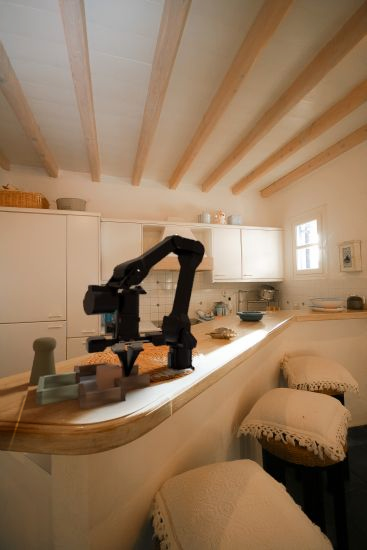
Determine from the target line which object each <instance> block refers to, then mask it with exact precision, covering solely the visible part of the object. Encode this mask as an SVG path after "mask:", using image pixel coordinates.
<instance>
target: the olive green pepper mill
mask: <svg viewBox="0 0 367 550" xmlns="http://www.w3.org/2000/svg"><path fill="white" fill-rule="evenodd" d="M56 347H57V341H56V339H55V338H54V337H51V336H49V337H48V336H46V337H45V336H44V337H39V338H36V339H34V341H33V342H32V350H33V351H34V356H33V360H32V366H31V372H30V376H29V382H28V386H29V387H31V385H36V386H38V383H39V378H40V376H47V375H55V374H57V371H56V363H55V361H56V360H55V353H54V351H55V349H56Z"/></svg>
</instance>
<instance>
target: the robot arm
mask: <svg viewBox="0 0 367 550" xmlns="http://www.w3.org/2000/svg"><path fill="white" fill-rule="evenodd" d="M205 252H206V249H205V245H204V244H203V243H202V241H200V240H195V239H192V238H187V237H184V236H181V235H180V234H172V235H168V236H165V237H164V238H163V239H162V240H161V241H159V242H158V243H157V244H155V245H153V246H152V247H150V248H149V249H148V250H146V251H145V252H144V253H142V254H141V255H139V256H138V257H135V258H132V259H129V260H127V261H124V262H122V263H120V264H117V265H116V266H115V267H114V268H113V270H112V271H113V272H112V275H111V277H110V278H109V280H108V281H107V282H106V283H105V285H99V284H88V285H87V290H86V292H85V295H84V296H83V297H84V298H83V299H82V306H83V307H82V308H83V312H84V314H85V315H86V316H98V315H99V316H102V315H113V314H114V313H115V318H114V322H113V321H111V320H110V321H104V334H105V335H106V336H107V335H111V338H106V337H105V336H104V335H96V336H95V335H94V336H88V337H87V338H86V339H85V350H86V352H87V354H88V353H89V354H95V353H103V352H104V351H105V350H106V349H107V348H109V349H110V351H111V352H112V353H113V354H114V355H116V356H117V357H118V360H119V363H120V366H122V369H123V372H124V376H125V377H128V376H129V375H130V373H131V370H132V368H133V366H134V364H136V361H137V359H138V357H139V356H140V354H141V352H144V351H145V348H144V347H143V345H144V344H151V345H153V347H163V346H166V347H168V352H167V364H166V366H167V367H168V368H169V369H172V370H173V371H183V370H188V369H189V370H194V369H195V368H196V367H195V366H194V365H193V350H194V349H196V348H197V345H198V340H197V339H196V337H195V336H194V335H193V333H192V332H191V331H192V330H191V329H192V324H191V319H190V317H189V310H190V303H191V298H192V293H193V289H194V288H193V287H194V282H195V277H196V271H197V269H198V267H199V266H200V265H201V264H202V262H203V259H204V256H205ZM171 253H172V254H173V255H176V256H177V261H178V263H179V267H180V268H179V272H178V277H177V282H176V287H175V292H174V298H173V301H172V303H173V304H172V307H171V308H172V309H171V311H170V313H169V314H168V315H163V317H162V322H161V323H162V324H161V326H160V330H161V332H159V331H150V332H149V331H148V332H145V333H144V335H141V334H140V322H141V317H140V295H141V296H142V295H147V294H148V293H147V291H146V290H145V289H144V288H143V287H142V285H140V284H141V283H142V282H144V280H145V279H146V278H147V277H148V275H149V273H150V271H151V270H152V268H153V267H154V266H155V265H157V264H158V263H160V262H161V261H162V260H164V259H165V258H166V257H167V256H169V255H170V254H171ZM132 286H133V287H132ZM120 290H121V292H120Z"/></svg>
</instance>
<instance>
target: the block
mask: <svg viewBox="0 0 367 550" xmlns="http://www.w3.org/2000/svg"><path fill="white" fill-rule="evenodd" d="M120 366H121V365H119V363H118V362H117V363H108V365H99V366H97V369H96V384H97V386H98V388H99V390H102V389H108V388H114V379H115V378H122V368H121V367H120Z"/></svg>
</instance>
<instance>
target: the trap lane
mask: <svg viewBox="0 0 367 550" xmlns="http://www.w3.org/2000/svg"><path fill="white" fill-rule="evenodd" d="M108 364H109V361H105V362H96V363H90V364H89V363H88V364H80V365H78V364H77V365H74V366H73V371H71V372H65V373H56V374H55V375H47V376H40V378H39V383H38V385H37V387H36V393H35V407H36V406H42V405H48V404H54V403H59V402H65V401H70V400H75V399H78V400H77V401H78V406H79V410H84V409H90V408H95V407H99V406H105V405H109V404H110V405H111V404H114V403H115V404H116V403H120V402H126V399H127V398H126V395H127V394H126V393H127V390H133V389H139V388H145V387H146V388H147V387H151V386H150V385H151V384H150V383H151V382H150V381H151V380H150V378H151V377H150V376H151V375H150V374H149V373H143V374H139V371H140V369H139V367H140V366H139V364H138V363H134V366H133V368H132V370H131V373H130V375H129V376H128V377H125V376H124V372H123V369H122V378H115V379H114V388H108V389H102V390H99V388H98V386H97V384H96V369H97V366H99V365H108ZM119 366H120V367H121V368H122V366H121V365H119Z"/></svg>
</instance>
